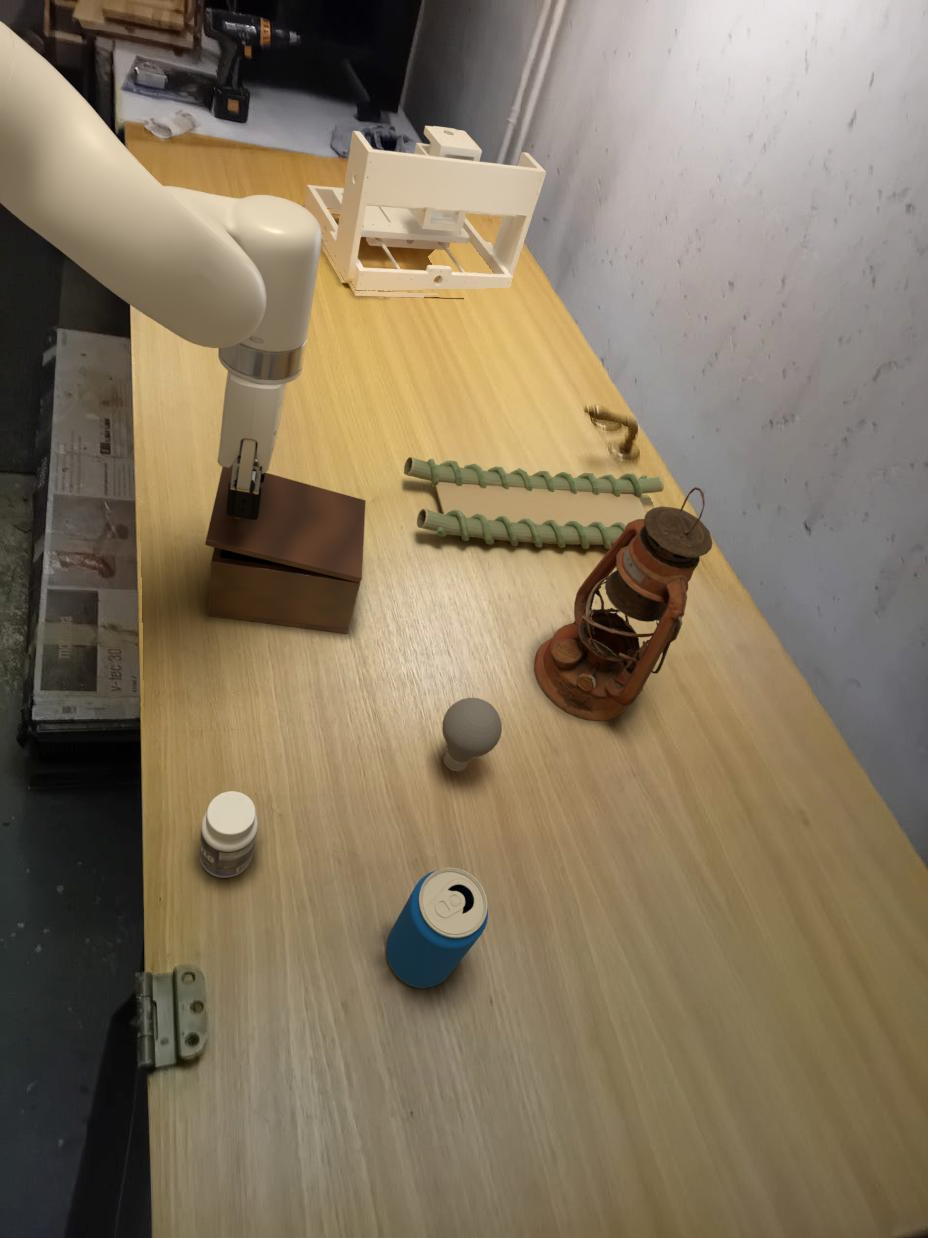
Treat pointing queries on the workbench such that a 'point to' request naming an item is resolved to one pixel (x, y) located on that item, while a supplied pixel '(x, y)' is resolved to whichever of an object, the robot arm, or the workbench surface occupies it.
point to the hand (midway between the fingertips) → (245, 495)
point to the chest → (279, 593)
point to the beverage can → (437, 927)
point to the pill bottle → (228, 834)
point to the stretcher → (531, 504)
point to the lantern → (641, 589)
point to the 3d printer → (425, 212)
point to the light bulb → (469, 731)
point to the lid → (294, 527)
